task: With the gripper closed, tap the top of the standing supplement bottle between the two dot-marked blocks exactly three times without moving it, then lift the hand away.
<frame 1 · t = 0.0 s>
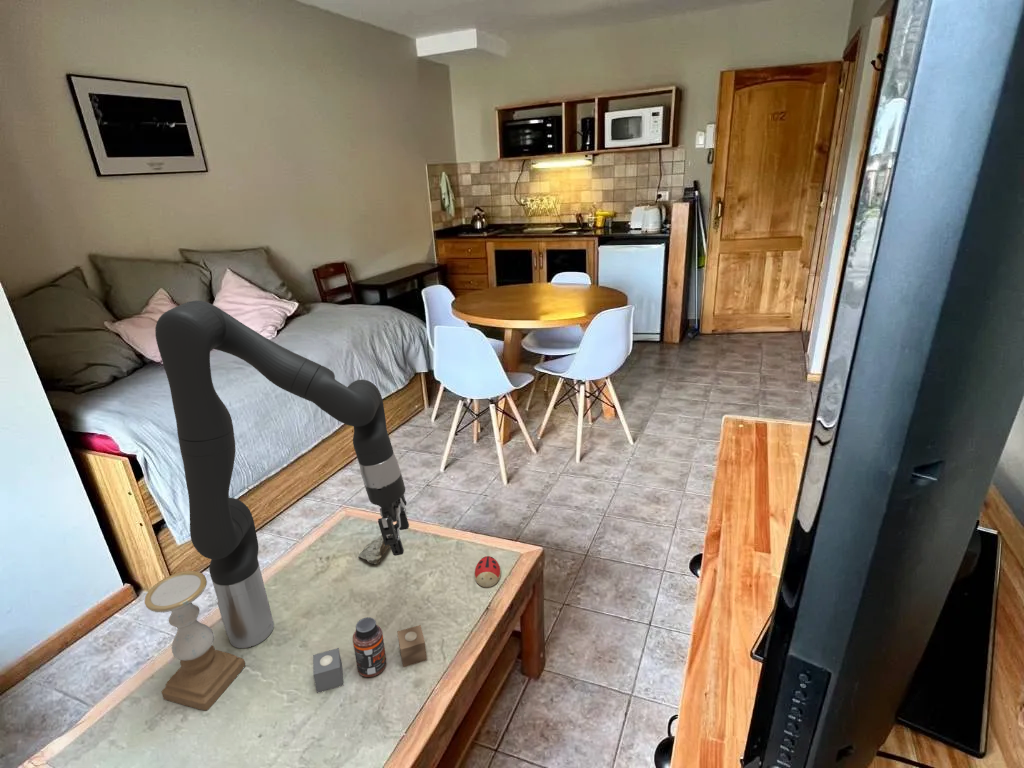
hand: (401, 540, 116), 22 cm above the table, tool pointing down, fingers open, 8 cm apart
ladybug figurine: (487, 576, 138), on the table
rock sample: (375, 557, 145), on the table
candle holder: (206, 682, 111), on the table
charcoal dotted block: (330, 679, 110), on the table
walnut dotted block: (413, 654, 115), on the table
supplement bottle: (372, 667, 113), on the table
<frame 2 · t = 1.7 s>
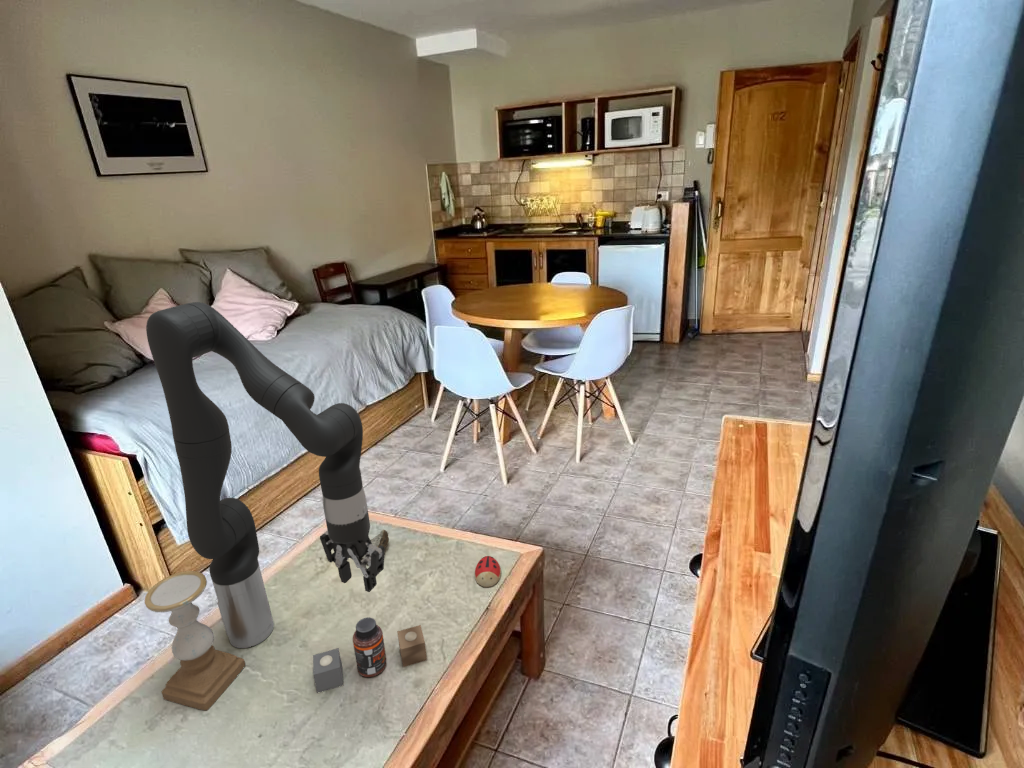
hand: (358, 584, 105), 21 cm above the table, tool pointing down, fingers open, 5 cm apart
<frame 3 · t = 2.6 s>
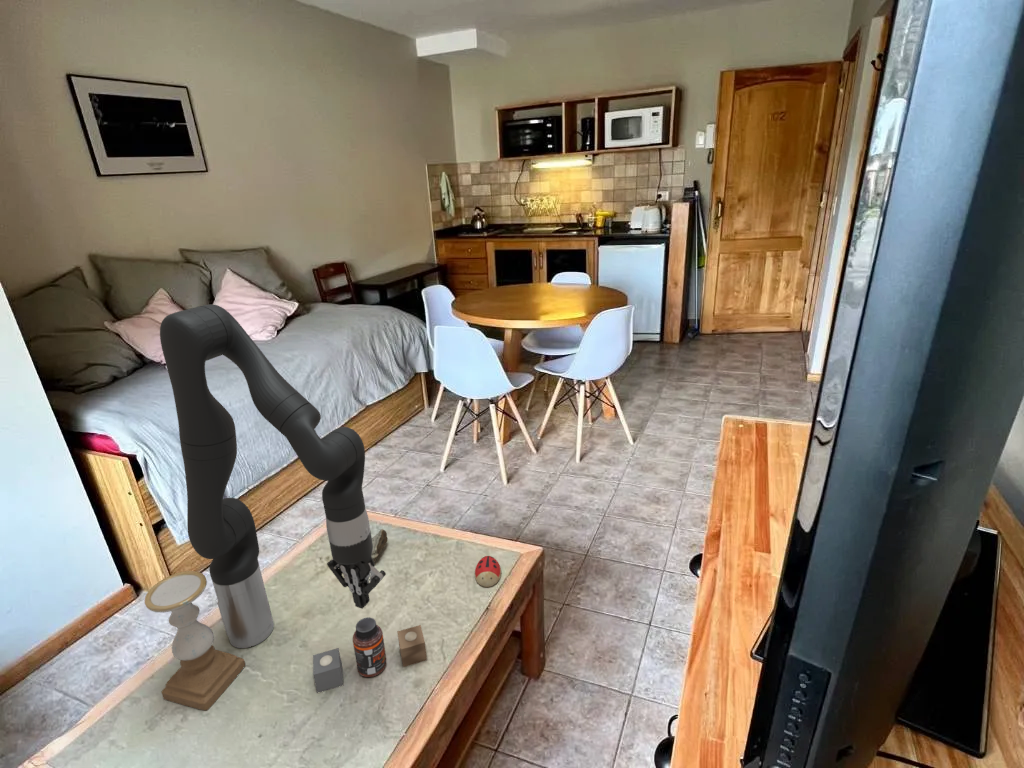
hand: (362, 604, 107), 16 cm above the table, tool pointing down, fingers closed
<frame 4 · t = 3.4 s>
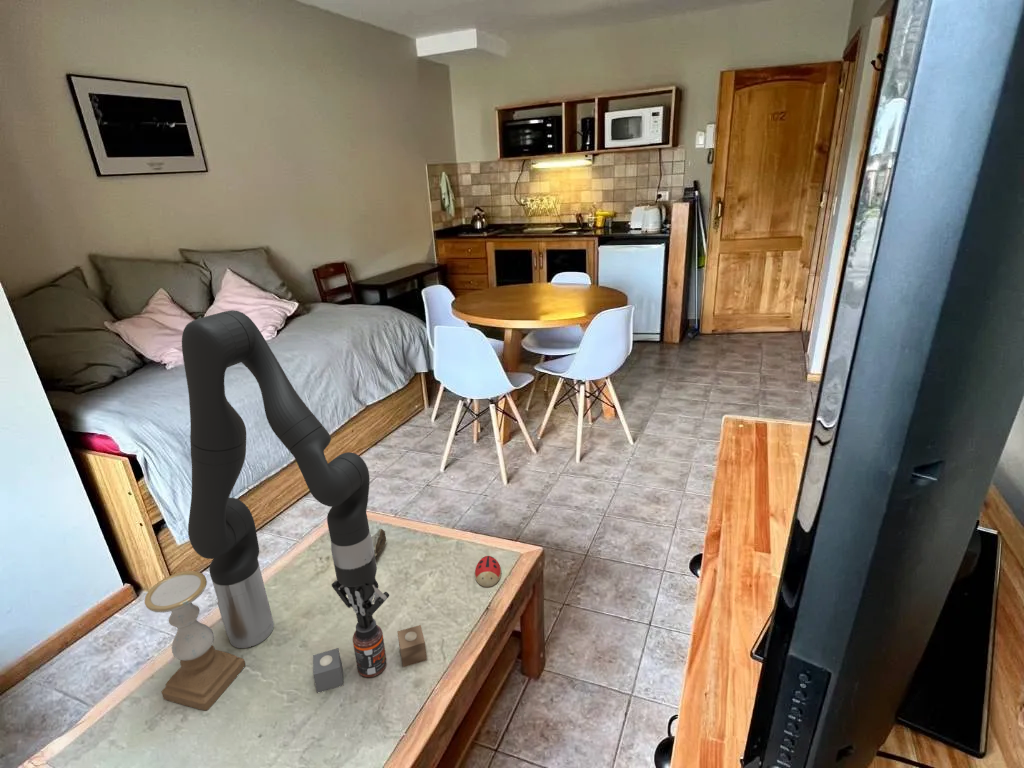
hand: (366, 624, 109), 11 cm above the table, tool pointing down, fingers closed
supplement bottle: (372, 667, 113), on the table, touching gripper
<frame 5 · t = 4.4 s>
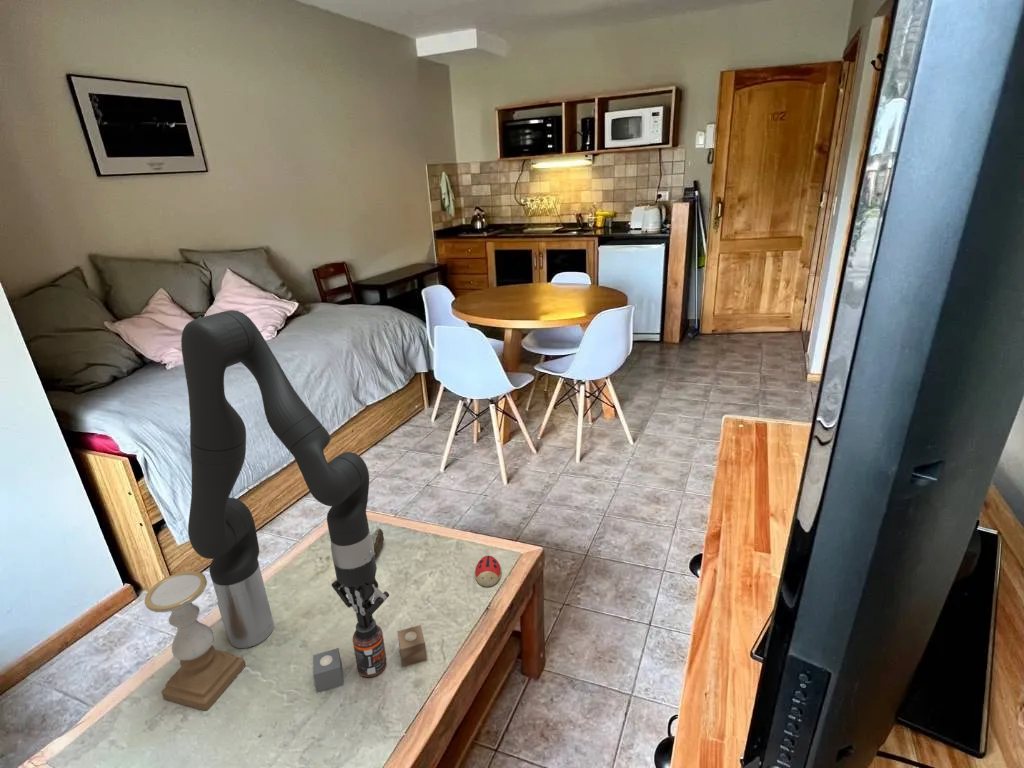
hand: (366, 624, 109), 11 cm above the table, tool pointing down, fingers closed
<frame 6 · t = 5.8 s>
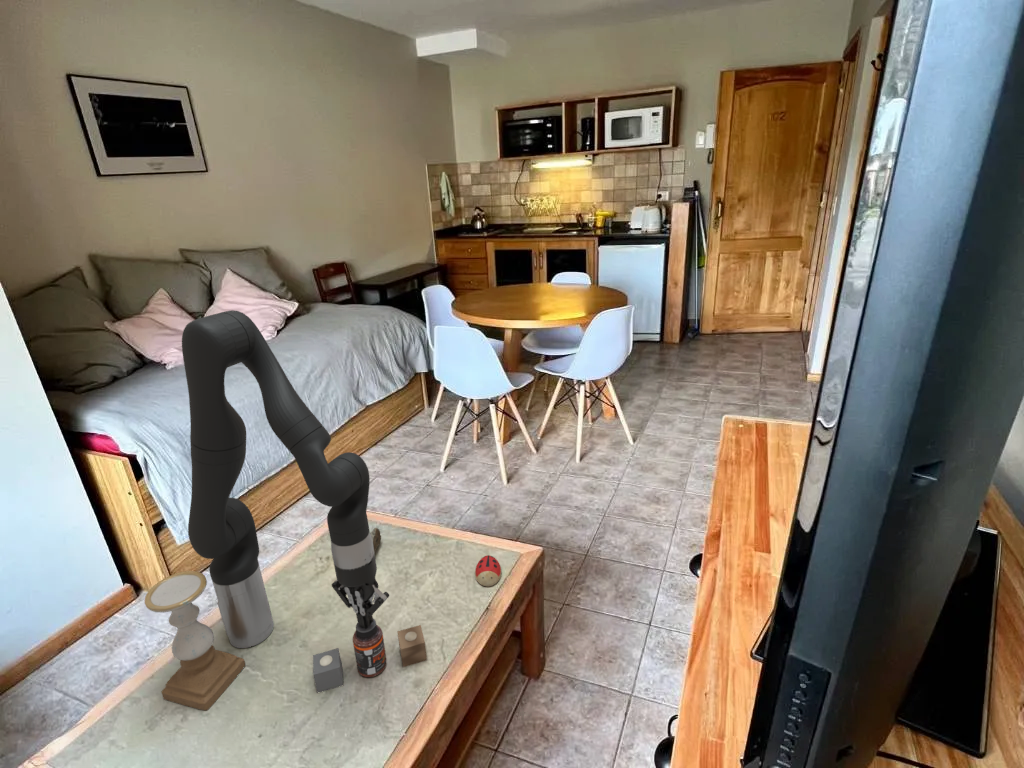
hand: (366, 624, 109), 11 cm above the table, tool pointing down, fingers closed
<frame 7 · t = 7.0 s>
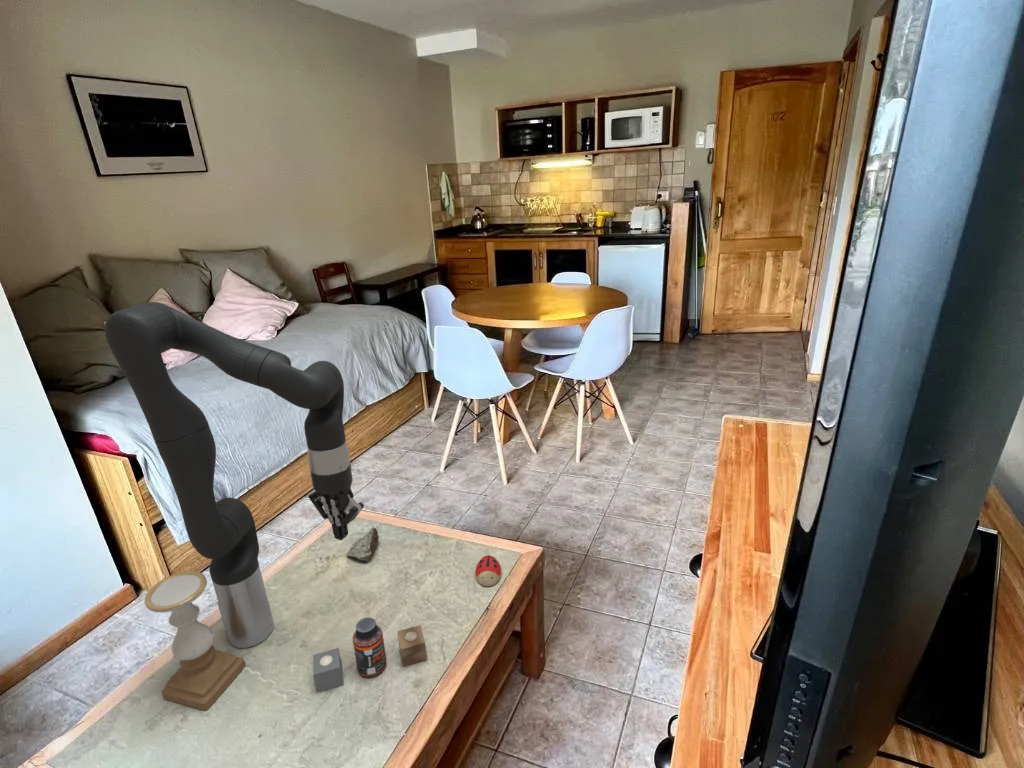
hand: (341, 537, 111), 26 cm above the table, tool pointing down, fingers closed
supplement bottle: (372, 667, 113), on the table
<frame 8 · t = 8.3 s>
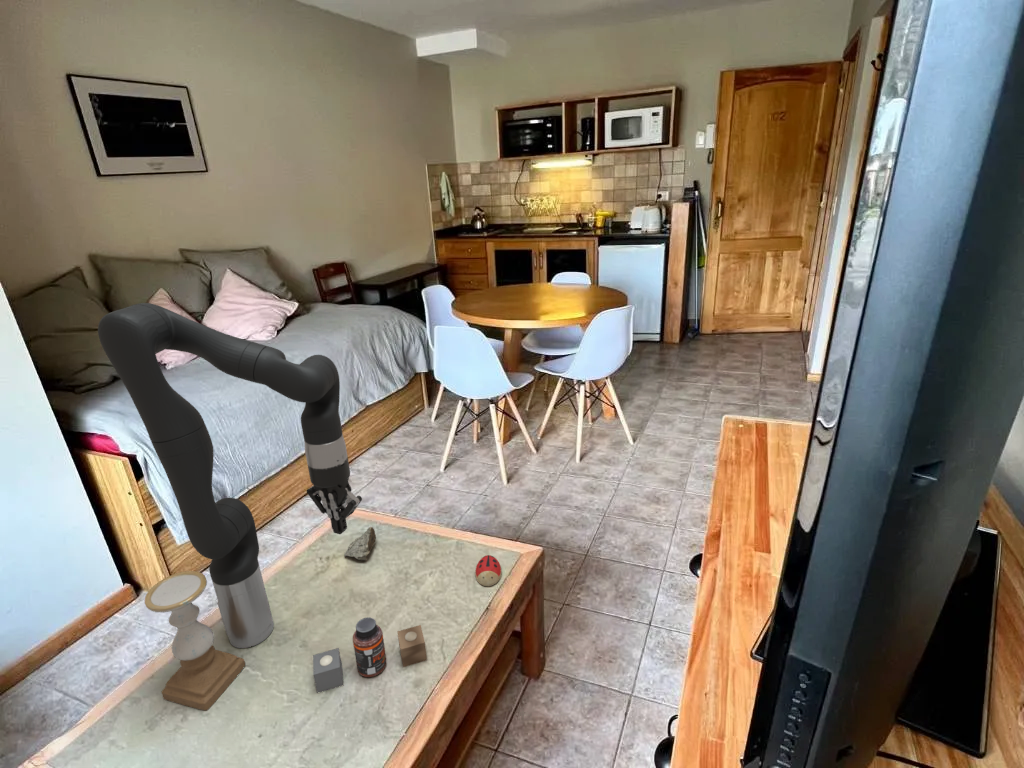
hand: (340, 531, 112), 27 cm above the table, tool pointing down, fingers closed
at the end: supplement bottle moved 0.2 cm from its start; supplement bottle tilted 0°; walnut dotted block moved 0.1 cm from its start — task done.
